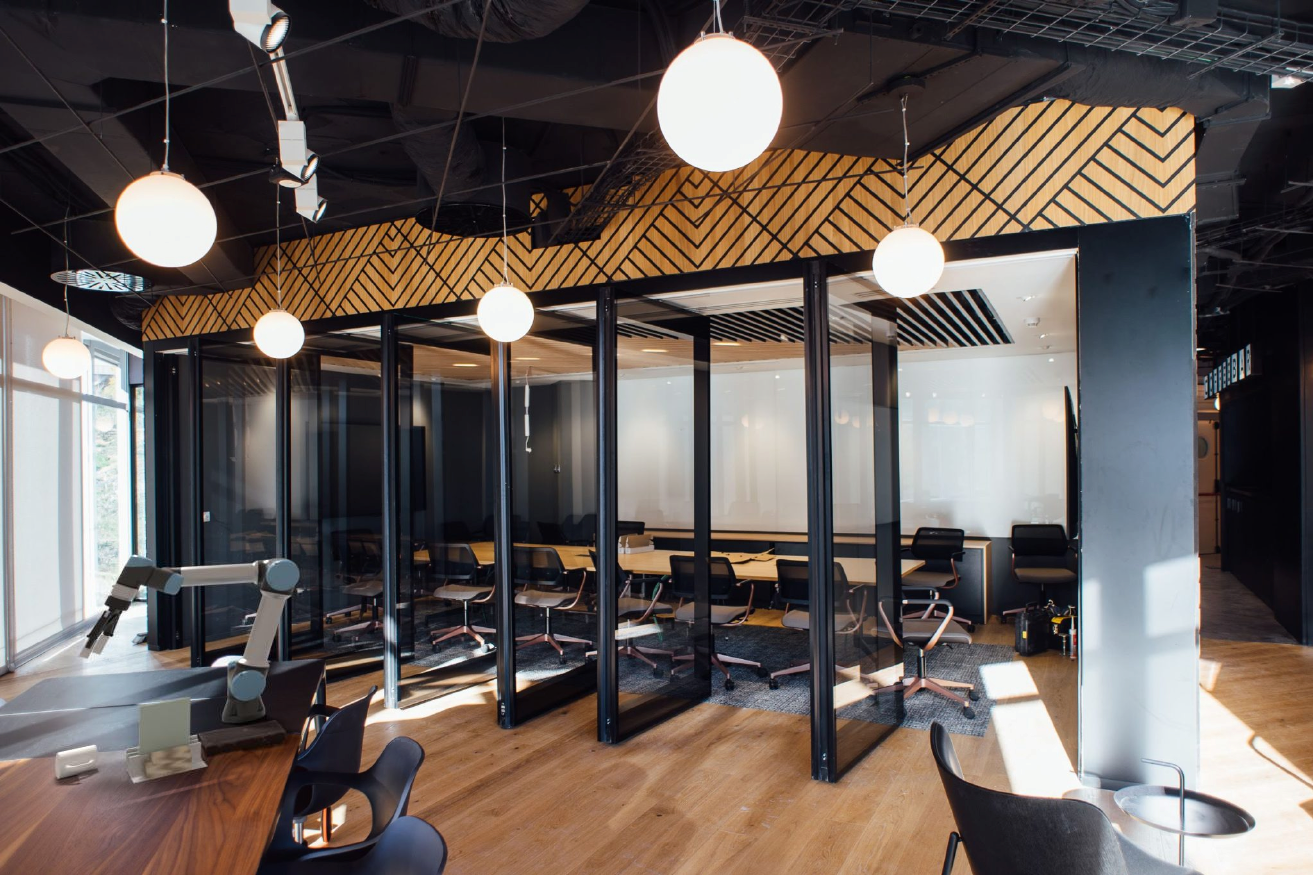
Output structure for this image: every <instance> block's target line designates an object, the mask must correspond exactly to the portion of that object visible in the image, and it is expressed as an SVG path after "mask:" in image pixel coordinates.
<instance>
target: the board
mask: <svg viewBox="0 0 1313 875" xmlns="http://www.w3.org/2000/svg"><path fill="white" fill-rule="evenodd" d="M138 711H139V714H138V717H139V718H138V747H139V755H141V754H146V753H150V752H155V751H160V750H165V749H169V748H174V747H179V746H183V745H188V744H190V736H191V697H190V696H186V697H179V698H175V699H168V700H163V701H157V702H151V703H147V704H141V705H139V710H138Z"/></svg>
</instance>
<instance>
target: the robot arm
mask: <svg viewBox="0 0 1313 875" xmlns="http://www.w3.org/2000/svg"><path fill="white" fill-rule="evenodd" d="M153 564H154V561H153V560H152V559H150V558H147V557H146V556H142V555H138V554H132V555H131V556H130V557H129V558H128V560H127V562H126V564H124V567H123V569H122V570H121V572H120V574H119V576H118V578H117V579H116V582H115V584H112V585H111V587H112V589H111V591H110V594H109V595H108V596H107V598H106V599H105V602H104V605H105V606H106V607H108V609H107V610H103V611H102V614H101V615H100V617H99V619H98V620H97V622H96V623H95V625H94V626H93V627H92V629H91V631H90V632H89V633H88V634H86V638H87V640H86V642H85V643H84V646H83V648H82V649H81V651H80V653H79V654H78V657H80V658H82V659H86V660H87V659H88V658H89V657H90V655H91V653H92V654H96V655H99V656H100V655H101V654H102V652H103V650H104V648H105V646H106V644H107V642H108V641H109V639H110V637H111V638H113V637H114V635H115V634H114V632H115V630H116V628H117V625H118V623H119V621H120V618H121V616H122V613H123V612H126V611H128V610H129V608H130V606H131V605H132V601H133V600H134V599H135V598H136V595H137V594H138V591H139V589H140V588H141V586H142V587H147V588H150V589H152V590H156V591H159V592H162V593H165V594H169V595H176V594H178V593H179V591H180V589H181V587H194V586H195V587H196V586H211V585H212V586H213V585H229V584H230V585H231V584H245V583H253V584H255V585H260V589H259V591H260V593H261V595H262V596H261V599H260V602H259V606H258V608H257V612H256V615H255V617H254V618H255V619H254V622H253V625H252V628H251V631H250V634H249V635H248V636H249V637H248V641H247V643H246V646H245V648H244V651H243V652H244V653H243V656H242V657H241V658H239V659H235V660H231V661H229V662H228V663H227V670H226V671H227V694H226V695H227V699H226V703H225V706H224V709H223V712H222V713H221V721H222V722H223V723H225V724H238V723H239V724H240V723H247V722H250V721H251V722H252V721H255V720H259V719H262V718H263V717H264V716H265V715H266V708H265V705H264V703H263V699H262V696H261V694H263V692H264V691H265V688H266V683H267V680H266V678H267V675H268V672H269V668H270V664H269V662H268V658H269V655H270V652H271V647H272V645H273V642H274V638H275V635H276V633H277V629H278V626H279V623H280V620H281V616H282V614H283V611H284V610H283V609H284V606H285V603H286V601H287V599H289V598H290V597H292V596H293V591H294V588H295V586H296V584H297V583H298V582H299V579H300V570H299V568H298V565H297V564H296V563H295V562H294V561H292V560H291V559H288V558H285V557H275V558H271V559H262V560H255V561H254V562H253V563H252V562H251V563H237V564H236V563H235V564H220V565H219V564H216V565H199V566H183V567H182V566H181V567H169V566H166V567H161V568H160V567H156V566H154V565H153Z"/></svg>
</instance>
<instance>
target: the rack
mask: <svg viewBox="0 0 1313 875" xmlns="http://www.w3.org/2000/svg"><path fill="white" fill-rule="evenodd" d="M183 746H185V745H183ZM188 746H189V748H190V756H191V757H192V767H189V768H185V769H180V770H176V771H172V772H167V773H163V774H159V775H154V776H150V777H147V775H146V773H145V763H148V762H151V753H152V752H150V753H146V754H141V755H139V746H135V747H130V748H126V749H125V769H126V771H127V773H128V775H129V777H130V779H131V781H132V783H133V784H137V783H142V782H145V781H149V780H154V779H157V778H162V777H166V776H172V775H176V774H179V773H180V774H181V773H185V772H188V771H192V770H197V769H201V768H206V767H208V765H207V763H206V762H205V761H204V760H203V759H202V741H199V739H198V734H194V735H190V744H188ZM179 747H180V746H179ZM174 748H175V747H174ZM169 749H171V748H169ZM165 750H166V749H165ZM160 751H161V750H160ZM155 752H157V751H155Z"/></svg>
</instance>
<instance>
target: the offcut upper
mask: <svg viewBox="0 0 1313 875" xmlns="http://www.w3.org/2000/svg"><path fill="white" fill-rule="evenodd" d="M189 758H190V748H189V746H188V745H185V746H180V747H175V748H171V749H166V750H161V751H157V752H152V753H151V763H152V765H153V766H157V765H161V764H166V763H170V762H175V761H179V760H184V759H189Z"/></svg>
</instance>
